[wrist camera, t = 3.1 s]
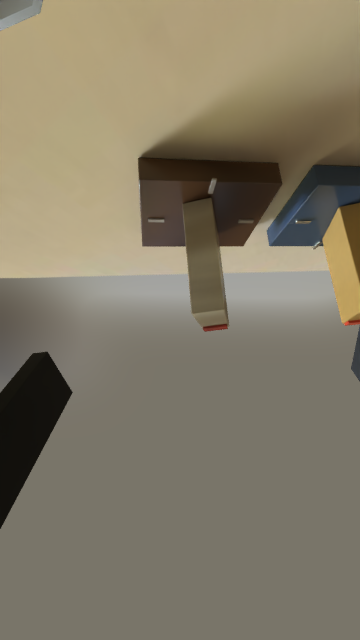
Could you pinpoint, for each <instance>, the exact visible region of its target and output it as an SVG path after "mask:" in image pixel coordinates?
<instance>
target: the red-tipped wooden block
mask: <svg viewBox="0 0 360 640" xmlns="http://www.w3.org/2000/svg"><path fill="white" fill-rule="evenodd" d="M322 241H323V245H324V249H325V253H326V258H327V262H328V266H329V270H330V274H331V278H332V283H333V287H334V291H335V295H336V299H337V303H338V308H339V312H340V316H341V320H342V323H344V324H345V325H355V324H360V203H356V204H351V205H346V206H341V207H339V208H338V210H337V212H336V214H335V216H334V217H333V219H332V221H331V223H330V225H329V227H328V229H327V231H326V233H325V235H324V237H323V239H322Z"/></svg>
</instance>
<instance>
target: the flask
mask: <svg viewBox="0 0 360 640" xmlns="http://www.w3.org/2000/svg"><path fill="white" fill-rule="evenodd" d="M42 2H43V0H0V31H1V30H3V29H5V28H8V27H10V26H12V25H14V24H17V23H19V22H21V21H23V20H26V19H28V18H30V17H33V16H35V15H37V14H39V13H40V11H41V7H42Z"/></svg>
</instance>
